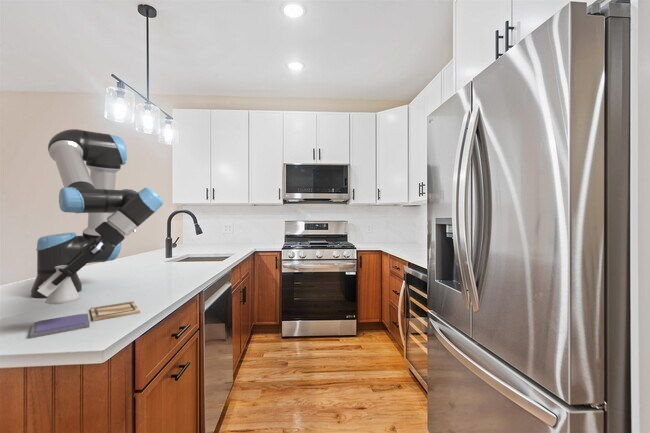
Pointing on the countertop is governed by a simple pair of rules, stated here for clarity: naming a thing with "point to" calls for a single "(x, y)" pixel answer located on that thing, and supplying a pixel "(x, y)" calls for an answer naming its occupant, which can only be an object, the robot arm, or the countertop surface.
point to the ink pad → (59, 325)
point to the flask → (63, 291)
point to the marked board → (114, 311)
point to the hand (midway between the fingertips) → (42, 291)
